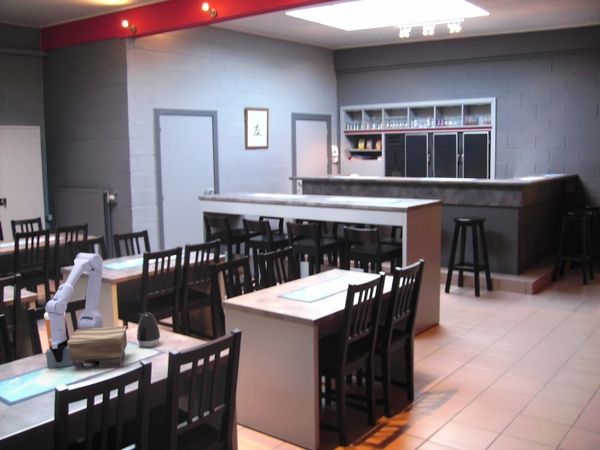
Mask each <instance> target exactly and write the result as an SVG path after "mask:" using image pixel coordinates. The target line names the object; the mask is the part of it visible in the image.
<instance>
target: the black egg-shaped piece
mask: <svg viewBox="0 0 600 450" xmlns="http://www.w3.org/2000/svg"><path fill="white" fill-rule="evenodd" d="M138 315H139V316H140V318H139V322H138V325H137V330H136V339H137V341H138V343H139V345H140V346H141V347H143V348H152V347H155V346H156V345H157V344H158V343H159V341H160V338H161V332H160V328H159V325H158V322H157V320H156V318H155V316H154V315H153V314H152V313H151V312H144V313H143V314H142V313H141V312H139V313H138Z"/></svg>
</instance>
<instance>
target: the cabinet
mask: <svg viewBox="0 0 600 450" xmlns="http://www.w3.org/2000/svg"><path fill="white" fill-rule="evenodd" d="M127 330H128V325H122V326H109V327H106V326H105V327H103V328H91V329H78V328H77V329H76V330H75V331H74V332H73V334H72V335H71V336H70V338H69V339H67V340H68V342H67V346H69V347H70V359H71V361H77V360H89V359H99V360H98V362H99V369H112V368H120V367H122V364H123V361H124V359H125V356H126V355H125V354H126V352H125V351H126V348H127V346H128V342H127V340H128V339H127Z"/></svg>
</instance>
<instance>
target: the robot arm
mask: <svg viewBox="0 0 600 450" xmlns="http://www.w3.org/2000/svg"><path fill="white" fill-rule="evenodd" d="M73 262H74V265H73V267H72V269H71V270H70V273H69V274H68V277H67V278H66V281H65V283H62V284H60V285H59V286H58V288H57V291H56V292H55V294H54V296H53V297H52V299H50V300H49V301H48V302H46V304H45V305H46V306H45V308H44V309H45V312H47V313H48V317H49V319H50V330H51V339H49V340H48V339H47V342H48V341H49V342H50V341H51V343H52V346H50V350H51V351H52V352H53V354H54V357H55V360H56V362H62V357H63V349H64V347H67V346H68V343H67V342H68V340H69V339H67V332H66V331H65V326H66V319H65V320H64V312H65V313H66V311H67V310H68V309H67V308H68V302H69V300H70V298H71V296H72V295H73V293H74V291H75V290H74V286H75V284H76V283H77V281H78V280H79V278H81V275H83V274H84V273H85V272H86V273H87V274H88V281H87V282H88V283H87V291H86V298H85V307H84V311H83V312H81V313H80V315H79V319H78V321H77V329H91V328H104V323H103V315H102V314H101V313H100V312H99V306H100V304H99V303H100V296H101V287H102V279H103V278H102V277H103V262H104V261H103V258H102V256H101V255H100V254H99V253H88V252H79V253H78V254H77V255H76V257H75V259H74V260H73Z"/></svg>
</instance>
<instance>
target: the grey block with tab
mask: <svg viewBox="0 0 600 450" xmlns="http://www.w3.org/2000/svg"><path fill="white" fill-rule="evenodd" d="M45 357H46V364H47V369H54V368H61V367H66V366H67V367H68V366H74V365H75V364H83V361H85V360H77V361H71V359H70V347H69V345H67V346H66V347H64V349H63V357H62V362H56V360H55V357H54V354H53V352H52V351H51V350H50V349H49V348H47V349H46V351H45ZM94 360H95V362H96V361H97V362H98V361H99V359H94Z"/></svg>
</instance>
